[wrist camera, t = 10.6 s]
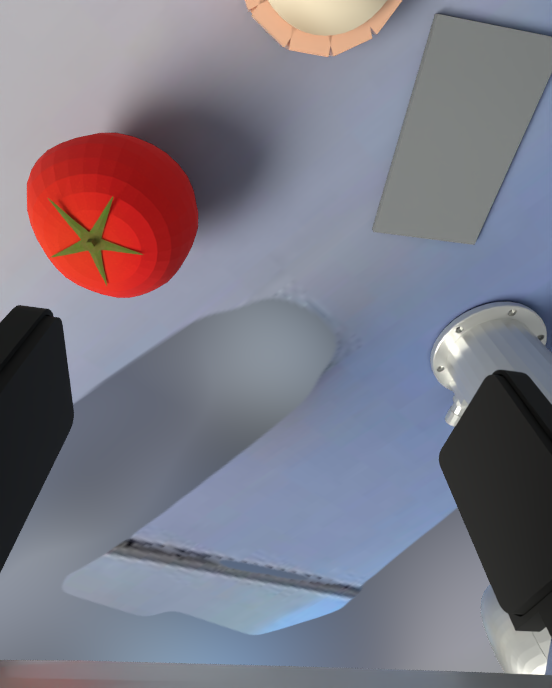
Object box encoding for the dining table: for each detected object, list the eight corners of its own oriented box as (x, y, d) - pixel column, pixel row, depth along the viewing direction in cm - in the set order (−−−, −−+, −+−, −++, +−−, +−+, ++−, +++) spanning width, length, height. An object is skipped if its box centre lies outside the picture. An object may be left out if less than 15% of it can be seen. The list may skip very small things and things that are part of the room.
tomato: (228, 218, 38) (220, 287, 28) (129, 267, 40) (87, 348, 30) (154, 86, 32) (108, 112, 21) (42, 154, 34) (-48, 206, 24)
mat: (471, 242, 41) (474, 244, 40) (372, 229, 39) (373, 231, 39) (561, 39, 31) (566, 39, 31) (435, 14, 30) (438, 13, 29)
